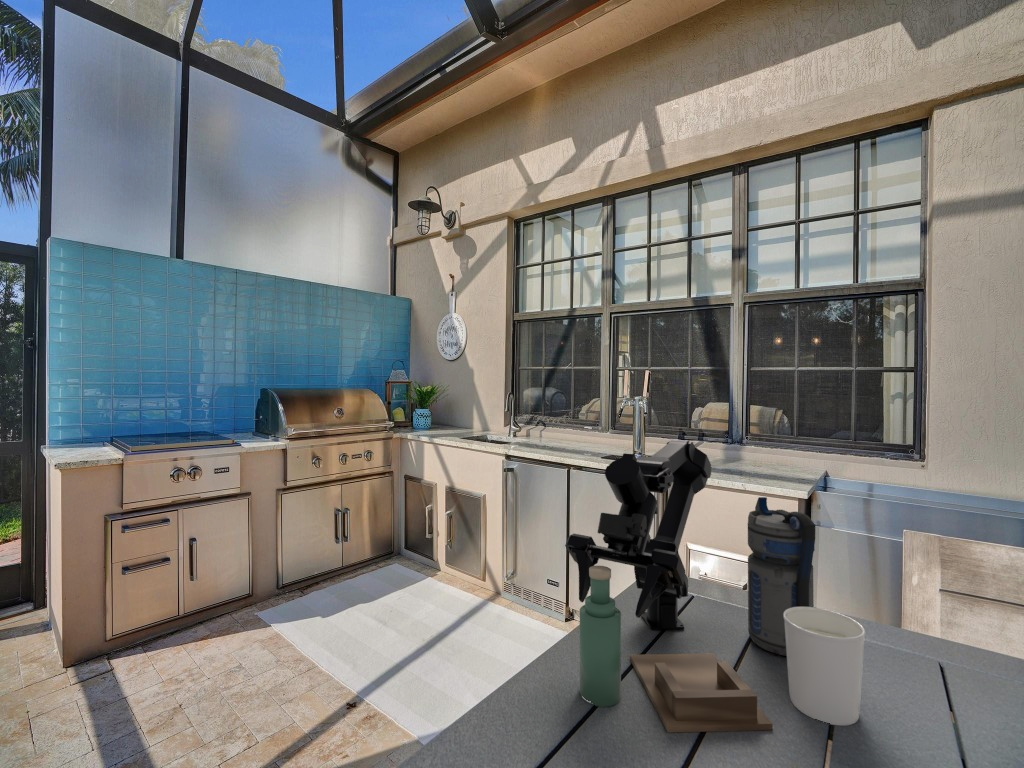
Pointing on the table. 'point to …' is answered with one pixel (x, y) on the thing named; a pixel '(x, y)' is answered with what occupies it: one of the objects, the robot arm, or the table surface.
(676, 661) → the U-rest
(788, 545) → the beverage bottle
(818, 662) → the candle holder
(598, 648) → the oil bottle
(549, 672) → the table surface
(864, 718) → the table surface
